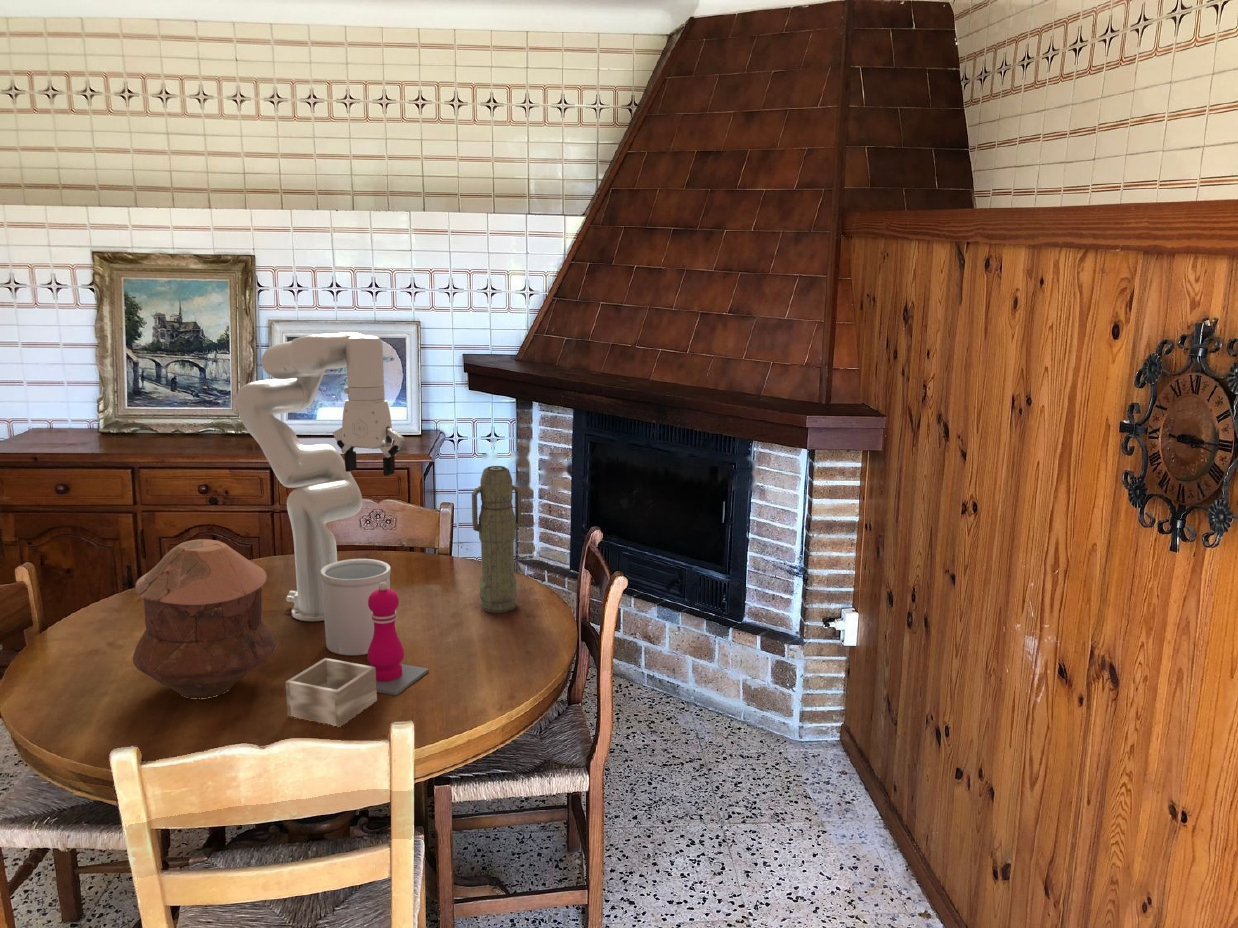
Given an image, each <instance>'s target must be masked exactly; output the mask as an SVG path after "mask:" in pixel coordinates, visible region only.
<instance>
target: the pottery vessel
mask: <svg viewBox="0 0 1238 928" xmlns="http://www.w3.org/2000/svg"><path fill="white" fill-rule="evenodd" d="M267 577H268V575H267V572H266V571H265V570H264V568H262V567H260V566H258V565H257V564H256V563H254V562H252V561H251V560H249V559H247V558H246V557H245V556H243V555H241V553H239V552H237V551H236V550H234V549H233V548H232V547H230V546H229V545H228V544H226V543H225V542H222V541H221V540H217V539H215V540H214V539H208V538H206V539H205V538H203V539H202V538H201V539H200V538H199V539H193V540H186V541H182V542H181V543H179V544H178V545H176V546H174V547H173V548H172V549H170V550H169V551H168V552H167V553H166V554H165V555H164V556H162V558H161V559H160V561H159V562H158V563H157V564H156V565H155V566H154V567H153V568H151V570H149V571H148V572H147V573H145V574H144V575H142V576H140V577H139V578H138V579H137V581H136V583H135V587H134V592H135V593H136V594H137V595H138V596H139V597H140V598H142V599H143V604H144V606H143V607H144V624H145V631H143V633H142V635H141V637H140V638H139V640H138V641H137V644H136V646H135V649H134V652H133V656H132V663H133V665H134V667H135V668H136V669H137V670H139V672H141V673H143V674H144V675H147V676H148V677H150V678H152V679H153V680H154V681H157V682H158V683H160V684H162V685H164V686H167V688H169V689H171V690H173V691H175V692H177V693H179V695H180V696H182V695H183V696H185V697H188V698H197V699H199V698H200V699H201V698H208V697H213V696H216V695H221V694H223V693H224V692H226V691H227V690H230V689H231V688H233V687H234V685H235V683H236V682H238V681H239V680H240V679H242V678H244V677H245V676H246V675H247V674H248V673H249V672H250V671H252V670H253V669H255V668H256V667H257V666H259V665H260V664H262V663H263V662H264V661H266V660H267V658H269V656H270V655H271V654H272V653H273V652H274V650H275V648H276V639H275V637H274V635H273V634H272V632H271V630H270V629H269V626H267V624H266V623H265V622H264V621H263V620H262V612H263V607H262V604H263V603H262V602H263V601H262V600H263V599H262V598H263V594H262V593H263V592H262V591H263V590H262V587H263V586H264V585H265V584H266V581H267ZM232 686H233V687H232ZM231 690H232V689H231ZM223 695H224V694H223ZM183 696H182V697H183ZM221 696H222V695H221Z"/></svg>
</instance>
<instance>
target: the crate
mask: <svg viewBox="0 0 1238 928" xmlns="http://www.w3.org/2000/svg"><path fill="white" fill-rule="evenodd" d="M285 692H286V705H287V706H286V707H287V708H286V709H287V716H288V715H289V716H294V717H298V718H302V719H309V720H314V721H318V722H322V723H328V724H331V725H333V726H332V727H334V726H337V727H336V728H339V727H340V728H342V727H343V726H344V725H346V724H348V723H349V722H350V721H351V720H352V718H353V719H354V718H355V717H357V716H358V715H359V714H361V713H362V712H364V711H365V710H366V709H368V708H369V707H370V706H372V705H373V704H375V703H376V702H378V694H377V693H378V692H377V690H376V669H375V667H372V666H371V665H366V664H360V663H355V662H349V661H343V660H338V659H333V658H328V657H324V658H323V659H320V660H319V661H318V662H316V663H314V664H313V665H311V666H310V667H308V668H307V669H304V670H302V672H299V673H298V674H296V675H294V676H293V677H291V678H289V679H288V680H286V681H285ZM374 702H375V703H374ZM364 709H365V710H364ZM363 710H364V711H363ZM357 714H358V715H357ZM356 715H357V716H356ZM350 719H351V720H350ZM349 720H350V721H349ZM348 721H349V722H348ZM345 723H346V724H345ZM343 724H344V725H343ZM342 725H343V726H342ZM341 726H342V727H341Z"/></svg>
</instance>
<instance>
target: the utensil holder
mask: <svg viewBox="0 0 1238 928" xmlns="http://www.w3.org/2000/svg"><path fill="white" fill-rule="evenodd" d="M391 569H392V568H391V566H390V564H389V563H387V562H385V561H382V560H378V559H374V558H373V559H370V558H352V559H343V560H337V562H334V563H331V564H329V565H326V566H325V567H323V568H322V569H321V579H322V584H323V605H324V620H323V621H324V632H325V645H326V648H327V649H328V651H330V652H331V653H333V654H337V655H341V656H362V655H368V649H369V646H370V644H371V641H372V639H373V635H374V622H373V621H372V620H371V618H372V616H371V614H372V611H371V610H370V609H369V606H368V599H369V596H370V595H371V593H372V592H374V591H375V590H378V589H379V588H378V585H379V583H381V582H385V583H386V584H387V589H391V581H390V580H391V578H390V575H391V572H392V570H391Z"/></svg>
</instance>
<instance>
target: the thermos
mask: <svg viewBox="0 0 1238 928" xmlns="http://www.w3.org/2000/svg"><path fill="white" fill-rule="evenodd" d="M479 480H480V481H479V482H480V486H478V487H475V488H474V490H473V492H472V493H471V519H472V530H473V531H475V532H478V538H479V540H480V553H481V557H480V558H481V577H480V579H479V598H480V608H481V610H483V611H484V610H485V612H487V613H494V614H495V613H497V614H500V613H507V612H510V611H513V610H514V609H516V607H517V602H516V601H517V600H516V599H517V589H518V588H517V579H516V576H515V547H514V546H515V542H514V541H515V539H516V530H517V528H518V527H520V525H522V491H521V489H520V488H519V487H518V486H517V485H515V484H513V478H512V475H511V472H510V469H509V468H508V467H506V466H502V465H491V466H487V467H486V468H484V469H483V471H482V474H481V477H480V479H479ZM513 491H515V492H514V493H515V494H514V496H515V497H514V498H515V500H514V502H515V513H514V510H513V509H514V508H513V506H514V505H513V499H514V498H513ZM479 493H480V501H481V505H480V512H479V516H478V495H479ZM515 606H516V607H515ZM509 610H510V611H509Z"/></svg>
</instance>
